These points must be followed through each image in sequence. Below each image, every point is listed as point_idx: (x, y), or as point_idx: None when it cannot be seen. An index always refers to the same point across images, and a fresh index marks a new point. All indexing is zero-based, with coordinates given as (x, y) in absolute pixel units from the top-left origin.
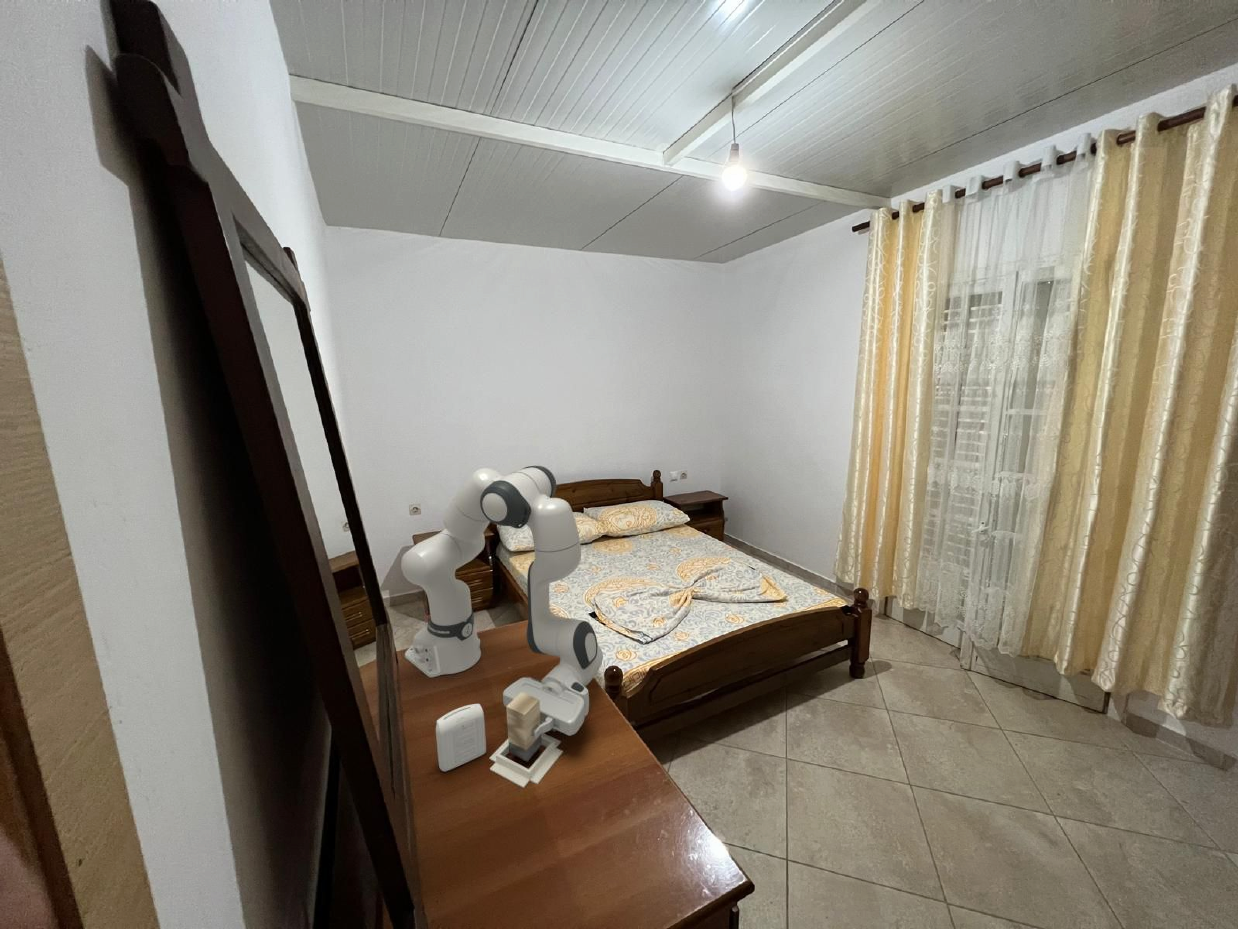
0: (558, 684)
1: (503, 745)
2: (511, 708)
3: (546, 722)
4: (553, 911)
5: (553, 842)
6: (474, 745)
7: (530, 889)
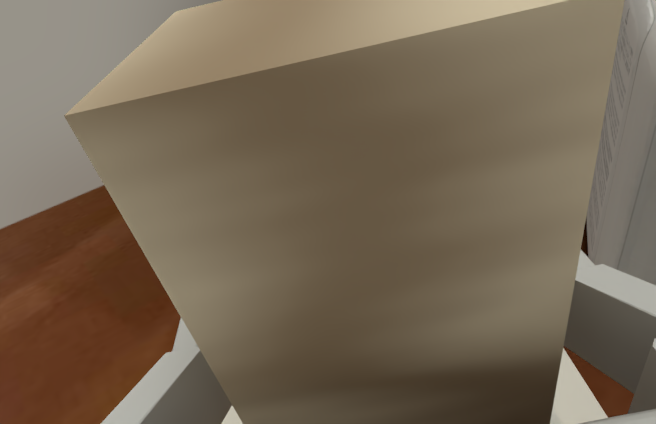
0: None
1: (592, 416)
2: None
3: (125, 420)
4: (30, 222)
5: (65, 291)
6: (599, 206)
7: (95, 213)
